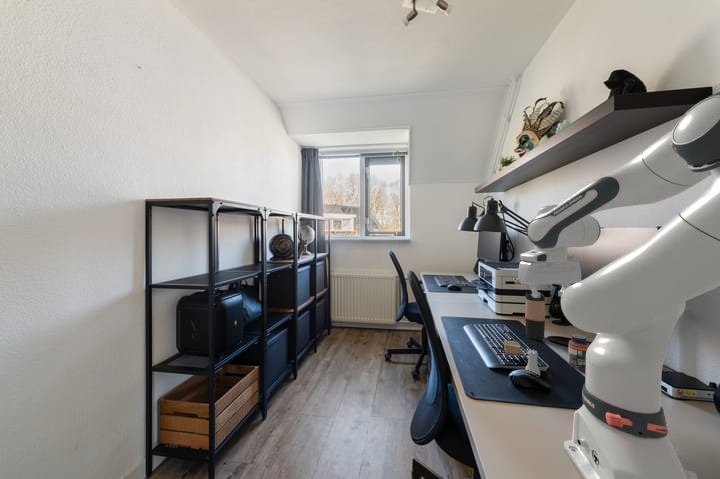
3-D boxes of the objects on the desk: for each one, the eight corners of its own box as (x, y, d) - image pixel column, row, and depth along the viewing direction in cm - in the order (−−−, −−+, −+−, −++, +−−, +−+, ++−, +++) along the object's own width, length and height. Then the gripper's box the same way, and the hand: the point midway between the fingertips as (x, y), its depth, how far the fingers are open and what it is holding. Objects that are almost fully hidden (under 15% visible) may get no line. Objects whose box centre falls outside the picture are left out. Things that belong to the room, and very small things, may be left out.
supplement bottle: (581, 363, 97) (582, 333, 97) (594, 372, 91) (595, 339, 91) (564, 363, 98) (564, 332, 97) (576, 371, 92) (576, 339, 91)
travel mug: (521, 335, 124) (521, 293, 124) (531, 332, 128) (531, 291, 127) (538, 341, 118) (538, 296, 117) (548, 338, 121) (548, 295, 120)
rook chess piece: (543, 378, 87) (543, 354, 87) (528, 377, 88) (528, 353, 88) (536, 371, 92) (537, 348, 92) (522, 370, 93) (522, 347, 92)
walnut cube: (520, 360, 99) (520, 347, 99) (505, 358, 101) (505, 345, 101) (518, 354, 103) (518, 342, 103) (504, 352, 105) (504, 340, 105)
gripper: (570, 254, 91) (569, 293, 91) (515, 254, 89) (514, 295, 89) (587, 255, 85) (586, 298, 85) (529, 256, 82) (528, 300, 83)
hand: (549, 297), depth 87 cm, fingers open, 8 cm apart
